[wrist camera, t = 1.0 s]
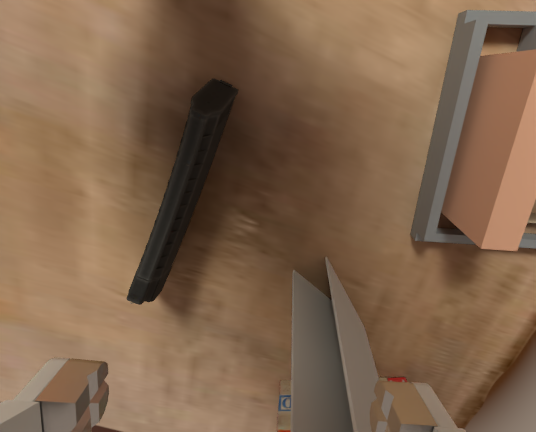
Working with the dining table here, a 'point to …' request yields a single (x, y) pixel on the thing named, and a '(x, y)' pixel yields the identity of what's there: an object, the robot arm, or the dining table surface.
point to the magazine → (183, 187)
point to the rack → (460, 117)
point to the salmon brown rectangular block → (496, 154)
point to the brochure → (329, 361)
